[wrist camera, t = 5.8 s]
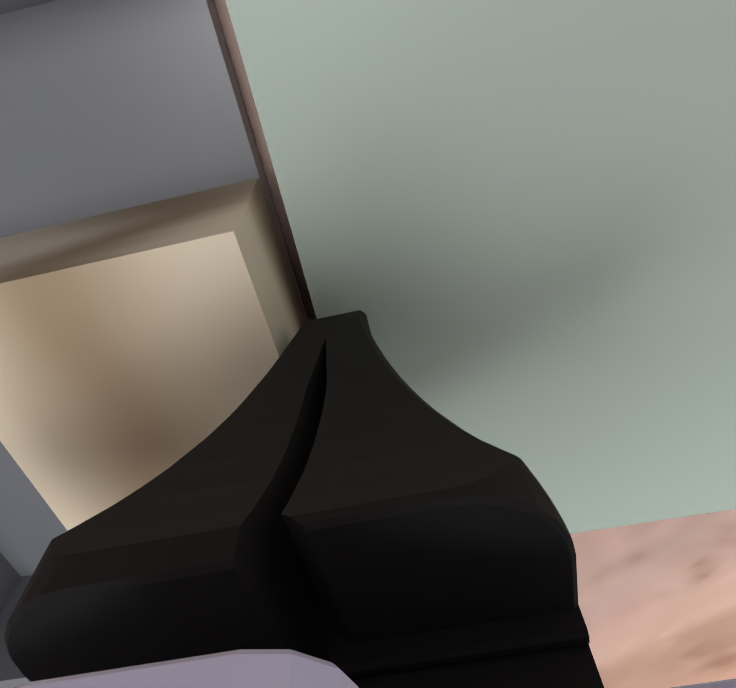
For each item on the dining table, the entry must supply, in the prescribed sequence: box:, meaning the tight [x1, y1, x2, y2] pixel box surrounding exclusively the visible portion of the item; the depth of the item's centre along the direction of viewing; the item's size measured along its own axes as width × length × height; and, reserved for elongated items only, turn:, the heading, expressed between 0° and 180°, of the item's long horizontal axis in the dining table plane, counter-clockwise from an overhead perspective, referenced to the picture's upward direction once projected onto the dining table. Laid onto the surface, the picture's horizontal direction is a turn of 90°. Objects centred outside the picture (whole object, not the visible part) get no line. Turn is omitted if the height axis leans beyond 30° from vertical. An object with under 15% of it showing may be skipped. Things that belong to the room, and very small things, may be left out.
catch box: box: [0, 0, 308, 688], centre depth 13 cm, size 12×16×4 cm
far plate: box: [225, 0, 736, 534], centre depth 13 cm, size 11×16×2 cm
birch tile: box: [0, 178, 305, 531], centre depth 12 cm, size 6×6×3 cm
